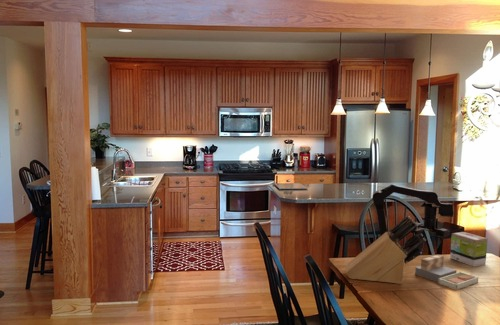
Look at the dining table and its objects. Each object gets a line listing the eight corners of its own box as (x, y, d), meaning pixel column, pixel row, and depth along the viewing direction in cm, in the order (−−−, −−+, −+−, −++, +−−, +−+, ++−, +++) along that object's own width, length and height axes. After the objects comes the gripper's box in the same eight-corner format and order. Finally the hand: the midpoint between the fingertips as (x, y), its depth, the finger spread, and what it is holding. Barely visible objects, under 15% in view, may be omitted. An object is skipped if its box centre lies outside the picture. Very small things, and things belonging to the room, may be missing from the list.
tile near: (448, 279, 194) (448, 283, 194) (458, 283, 189) (458, 287, 189) (454, 277, 196) (454, 281, 196) (464, 281, 192) (464, 285, 192)
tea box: (449, 258, 233) (450, 232, 232) (461, 256, 238) (463, 231, 236) (473, 267, 220) (475, 239, 218) (486, 264, 224) (488, 237, 223)
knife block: (424, 287, 190) (427, 220, 187) (345, 279, 198) (347, 215, 196) (420, 278, 201) (423, 215, 198) (345, 271, 209) (347, 210, 207)
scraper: (426, 270, 202) (426, 260, 201) (420, 269, 204) (421, 259, 204) (443, 266, 209) (443, 256, 209) (437, 264, 212) (438, 254, 212)
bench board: (439, 282, 196) (439, 275, 196) (415, 274, 207) (415, 267, 207) (456, 277, 204) (456, 270, 204) (431, 269, 215) (432, 262, 214)
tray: (456, 290, 187) (456, 284, 187) (438, 283, 195) (438, 278, 194) (477, 282, 197) (478, 277, 197) (459, 276, 205) (459, 271, 204)
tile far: (457, 276, 197) (457, 281, 197) (467, 278, 193) (467, 282, 193) (462, 274, 200) (463, 279, 200) (473, 276, 196) (473, 280, 196)
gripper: (457, 217, 206) (455, 248, 207) (423, 210, 221) (421, 239, 223) (443, 220, 200) (442, 251, 201) (410, 213, 215) (408, 242, 216)
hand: (428, 246), depth 210 cm, fingers open, 9 cm apart
